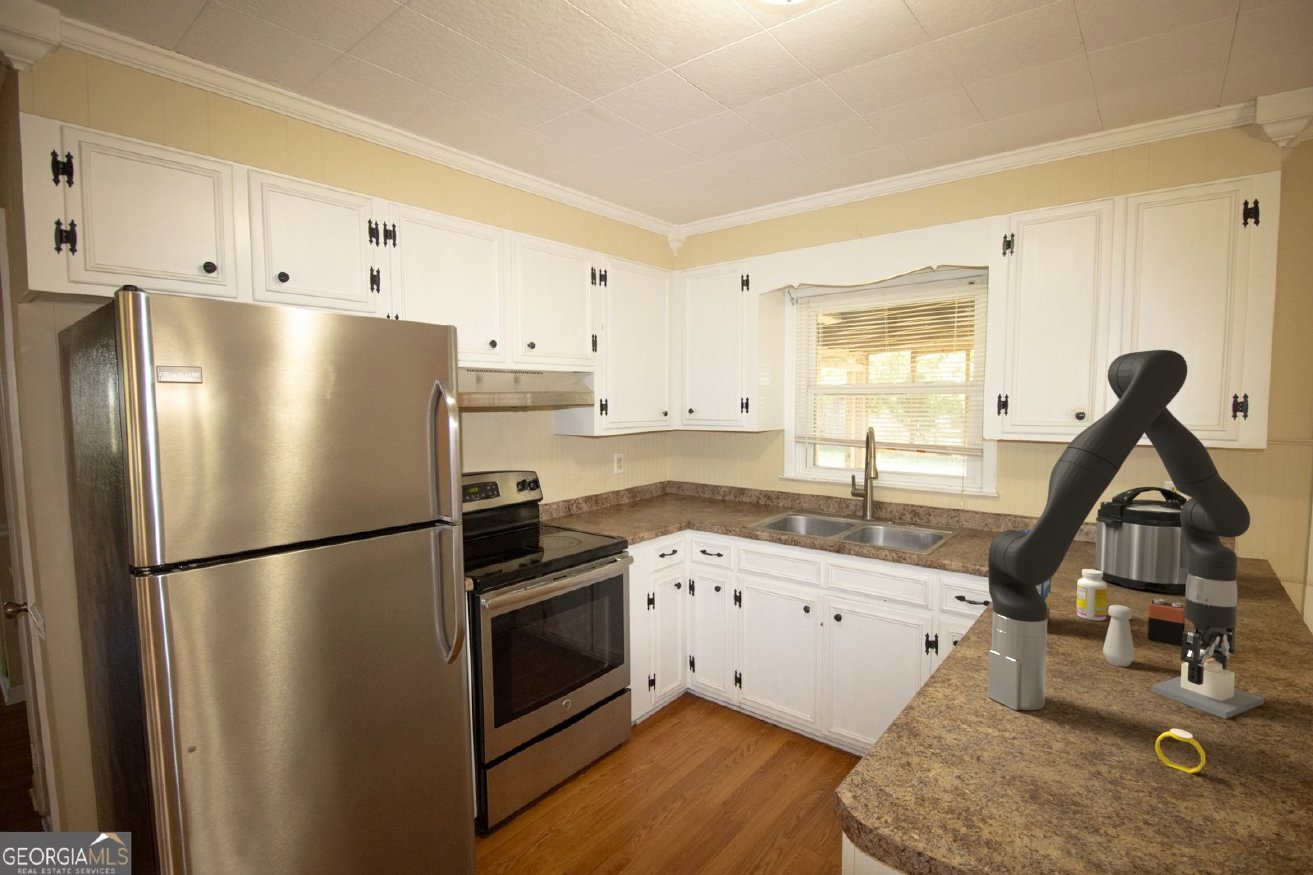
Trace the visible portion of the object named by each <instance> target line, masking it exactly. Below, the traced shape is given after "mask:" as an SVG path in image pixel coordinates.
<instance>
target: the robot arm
mask: <svg viewBox="0 0 1313 875" xmlns="http://www.w3.org/2000/svg"><path fill="white" fill-rule="evenodd" d="M1187 376H1188V364H1187V361H1186V359H1185V357H1184V356H1183V355H1182V354H1180V353H1179V352H1177V351H1174V350H1170V349H1154V350H1153V349H1152V350H1144V351H1143V350H1142V351H1135V352H1134V351H1133V352H1129V353H1124V354H1122V355H1119V356H1118V357H1116V358H1115V359H1114V360H1112V362H1111V363H1110V365H1109V367H1108V370H1107V381H1108V384H1109V386H1110V388H1111V390H1112V391H1113V393H1114V394H1115V397H1117V398H1118V401H1117V403H1116V404H1115V405H1114V406H1113V407H1112V408H1111V409H1110V410H1109V411H1107V413H1105V414H1104V415H1103V416H1101V417H1100V418H1099V419H1097V420H1096V421H1095V422H1093V423H1092V424H1091V425H1089V426H1088V427H1086V428H1085V429H1084V430H1082V431H1081V432H1079V434H1078V435H1077V436H1075V437H1074V438H1073V439H1072V441H1070V443H1069V444H1068V445H1067V447H1066V448H1065V450H1063V452H1062V454H1061V455H1060V456H1059V457H1058V460H1057V461H1056V463H1055V464H1054V466H1053V467H1052V470H1051V473H1050V477H1049V481H1048V482H1049V483H1048V489H1047V490H1048V491H1047V492H1048V493H1047V499H1046V500H1047V501H1046V505H1045V507H1044V509H1043V511H1042V514H1040V517H1039V518H1038V520H1037V521H1036V522H1035V524H1034V526H1033V527H1032V528H1031V529H1030V530H1031V531H1030V532H1029V533H1028V534H1027V533H1024V532H1021V531H1019V530H1015V529H1008V530H1004V531H1001V532H999V533H997V535H996V536H995V537H993V539H992V541H991V543H990V545H989V550H988V554H987V556H988V558H987V569H988V571H987V573H988V575H987V576H988V592H989V593H988V594H989V595H990V599H991V602H992V623H991V624H992V628H991V629H992V632H991V649H990V650H988V662H987V663H988V664H987V666H988V669H987V671H988V674H987V698H990V699H992V700H994V701H996V702H998V703H1000V704H1002V705H1004V706H1006V707H1008V708H1009V709H1012V710H1014V711H1019V710H1024V711H1037V710H1041V709H1043V708H1044V707H1045V700H1046V670H1047V669H1046V667H1047V666H1046V664H1047V638H1048V637H1047V634H1048V623H1047V614H1048V608H1047V604H1046V602H1045V601H1044V600H1043V598H1042V597H1041V596H1040V594H1039V592H1038V590H1037V588H1036V585H1040V584H1042V583H1045V582H1046V581H1048V580H1049V579H1050V578H1051V579H1052V578H1053V577H1054V575H1055V574H1056V573H1057V571H1058V570H1059V568H1060V566H1061V564H1062V563H1063V561H1064V559H1065V557H1066V555H1067V552H1068V551H1069V549H1070V548H1071V545H1072V543H1073V542H1074V539H1075V537H1076V536H1077V534H1078V532H1079V530H1080V528H1081V527H1082V525H1083V523H1084V522H1085V521H1086V520H1087V518H1088V516H1089V515H1090V513H1091V511H1092V510H1093V508H1095V507H1094V506H1096V504H1097V502H1098V501H1099V499H1100V498H1101V497H1102V495H1103V494H1104V493H1105V491H1106V490H1107V488H1108V487H1109V486H1110V485H1111V483H1112V481H1113V480H1114V478H1115V477H1116V475H1117V474H1118V472H1119V471H1120V470H1121V467H1123V464H1124V463H1125V462H1126V459H1127V458H1128V457H1129V455H1130V454H1131V453H1132V451H1133V449H1134V448H1135V446H1137V444H1138V443H1139V442H1140V440H1141V438H1142V437H1143V435H1146V437H1147V438H1148V439H1147V440H1149V442H1150V443H1151V444H1152V447H1154V449H1155V452H1157V454H1158V456H1159V458H1160V460H1161V462H1162V464H1163V466H1164V468H1165V469H1166V472H1167V474H1168V475H1169V478H1170V480H1171V482H1172V484H1173V485H1174V487H1175V489H1176V490H1177V491H1178V492H1179V493H1181V494H1183V495H1185V496H1188V497H1189V499H1187V502H1186V503H1185V504H1184V505H1183V507H1182V510H1181V514H1180V521H1181V526H1182V530H1183V534H1184V537H1185V541H1186V545H1187V547H1188V551H1189V567H1188V578H1187V582H1186V593H1185V601H1184V602H1185V603H1184V604H1185V605H1184V606H1185V620H1187V621H1189V622H1190V623H1191V624H1193V628H1192V631H1188V630H1185V631H1184V632H1183V638H1182V646H1181V653H1180V660H1181V661H1182V662H1184V663H1185V662H1188V681H1189V682H1191V683H1194V684H1197V685H1201V684H1203V676H1204V664H1205V661H1206V659H1210V658H1213V659H1215V661H1217V662H1219V663H1221V664H1222V669H1224V670H1228V669H1227V668H1228V667H1227V666H1228V659H1230V657H1231V654H1232V655H1234V654H1235V652H1236V651H1235V650H1236V649H1235V647H1236V643H1235V642H1236V625H1237V609H1238V586H1237V568H1238V556H1237V554H1236V552H1235V551H1234V550H1232V549H1230V548H1229V547H1227V546H1225V545H1224V544H1223V543H1222V542H1221V540H1220V537H1222V538H1237V537H1240V536H1242V535H1244V534H1245V533H1246V532H1248V530H1249V528H1250V525H1251V515H1250V511H1249V509H1248V507H1247V505H1246V504H1245V502H1244V501H1243V500H1242V498H1241V497H1240V496H1239V495H1238V494H1237V493H1236V492H1235V490H1233V488H1232V487H1231V486H1230V484H1228V483H1227V482H1226V481H1225V480H1224V479H1223V478H1222V477H1221V475H1220V474H1219V471H1218V470H1217V467H1216V465H1215V463H1214V461H1213V459H1212V457H1211V455H1210V454H1209V451H1208V450H1207V448H1206V447H1205V445H1204V444H1203V443H1202V441H1201V440H1200V439H1199V438H1198V437H1197V436H1196V435H1195V434H1194V433H1193V432H1192V431H1190V430H1189V429H1188V428H1187V427H1186V426H1185V425H1184V424H1183V423H1182V422H1180V421H1179V419H1177V417H1175V416H1174V414H1173V413H1172V412H1171V411H1170V410H1169V409H1168V407H1167V406H1168V405H1169V404H1170V403H1171V402H1172V401H1173V400H1174V398H1175V397H1176V396H1177V394H1179V392H1180V390H1181V389H1182V387H1183V386H1184V384H1185V382H1186V380H1187Z"/></svg>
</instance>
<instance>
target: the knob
mask: <svg viewBox="0 0 1313 875" xmlns="http://www.w3.org/2000/svg"><path fill="white" fill-rule="evenodd" d="M1180 666H1181V668H1180V669H1181V671H1180V672H1181V673H1180V676H1181V687H1182V688H1185V689H1188V690H1191V691H1194V692H1197V693H1199V694H1202V695H1205V696H1208V697H1211V698H1214V699H1216V700H1219V701H1224V700H1226V699H1229V698H1232V697H1234V688H1235V675H1236V674H1235V672H1234V671H1230V670H1228V669H1227V670H1224V669H1222V664H1221V663H1219V662H1217V661H1215V659H1213V658H1212V657H1209V658H1207V659H1206V661H1205V664H1204V676H1203V684H1201V685H1197V684H1194V683H1191V682H1189V681H1188V662H1185V661H1184V662H1182V663H1181V665H1180Z"/></svg>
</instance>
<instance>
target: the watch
mask: <svg viewBox="0 0 1313 875" xmlns="http://www.w3.org/2000/svg"><path fill="white" fill-rule="evenodd" d="M1168 737H1172V738H1174V739H1176V740H1178V741H1181V742H1185V743H1186V742H1187V743H1189V744H1191V745H1192V746H1194V747H1195V749H1196V750H1197V752H1198V754H1199V755H1200V763H1199V765H1198V766H1194V767H1191V768H1190V767H1188V766H1184V765H1182V764H1178V763H1176V762H1173V761H1170V760H1169V759H1168V758H1167V757H1166V756H1165V755H1164V753H1163V751H1162V748H1161V745H1160V744H1161V741H1162V740H1163V739H1164V738H1168ZM1154 748H1155V752H1156V754H1157V756H1158V758H1159V760H1160V761H1162V763H1163V764H1164V765H1165V766H1166V767H1169V768H1173V769H1175V770H1178V771H1181V772H1183V773H1187V774H1190V775H1191V774H1194V773H1195V774H1196V773H1199V772H1200V771H1201V770H1202V769H1203V767H1204V766H1205V764H1206V753H1205V751H1204V749H1203V747H1202V745H1201V744H1200V743H1199V742H1198V741H1197V740H1195V739H1194V737H1193V734H1192V733H1190V732H1188V731H1185V730H1184V729H1180V728H1170V730H1169V731H1164V732H1163V733H1161V734H1160V735H1159V736H1158V737H1157V738H1156V741H1155V746H1154Z"/></svg>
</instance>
